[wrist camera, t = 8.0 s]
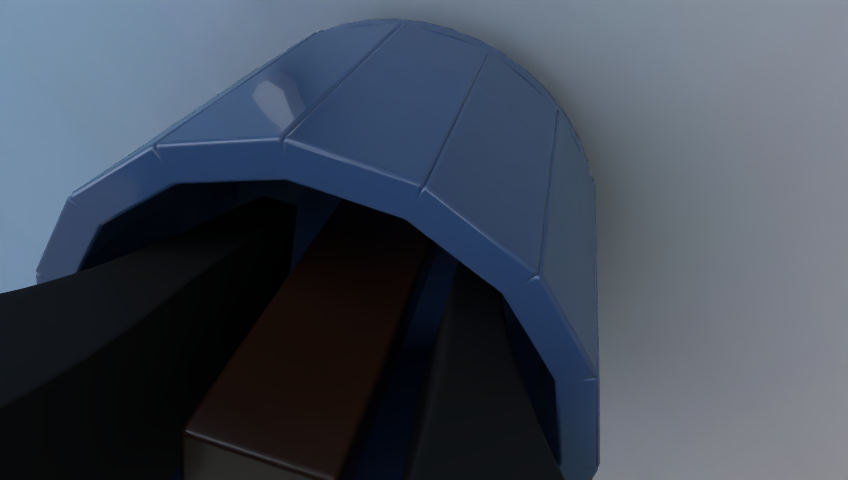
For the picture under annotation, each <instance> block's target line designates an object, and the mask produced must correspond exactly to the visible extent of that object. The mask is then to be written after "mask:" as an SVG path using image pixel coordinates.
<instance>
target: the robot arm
mask: <svg viewBox="0 0 848 480" xmlns="http://www.w3.org/2000/svg"><path fill="white" fill-rule="evenodd" d="M296 215H297V205H294V204H290V203H287V202H284V201H280V200H277V199H274V198H270V197H267V196H262V197H259V198H257V199H255V200H252V201H250V202H248V203H246V204H243V205H241V206H239V207H237V208H235V209H232V210H230V211H228V212H226V213H224V214H222V215H220V216H217V217H215V218H213V219H211V220H209V221H206V222H204V223H202V224H200V225H197V226H195V227H193V228H191V229H189V230H186V231H184V232H182V233H180V234H177V235H175V236H173V237H171V238H168V239H166V240H163V241H161V242H158V243H156V244H153V245H151V246H148V247H145V248H143V249H140V250H138V251H135V252H133V253H130V254H128V255H125V256H122V257H120V258H117V259H115V260H112V261H110V262H107V263H104V264H101V265H98V266H95V267H93V268H90V269H86V270H83V271H80V272H77V273H74V274H71V275H68V276H64V277H61V278H58V279H54V280H51V281H47V282H44V283H41V284H37V285H34V286H30V287H26V288H23V289H19V290H14V291H10V292H6V293H1V294H0V480H170V479H171V477H172V475H173V474H174V472H175V470H176V468H177V467H178V465H179V464H180V462H181V430H182V428H183V427H184V425H185V424H186V422H187V421H188V419H189V418H190V417H191V415H192V414H193V412H194V411H195V409H196V408H197V406H198V405H199V404H200V402H201V401H202V399H203V398H204V396H205V395H206V394H207V392H208V391H209V389H210V388H211V386H212V385H213V383H214V382H215V381H216V379H217V378H218V376H219V375H220V373H221V372H222V371H223V369H224V368H225V366H226V365H227V363H228V362H229V360H230V359H231V358H232V356H233V355H234V353H235V352H236V350H237V349H238V348H239V346H240V345H241V343H242V342H243V340H244V339H245V337H246V336H247V335H248V333H249V332H250V330H251V329H252V327H253V326H254V325H255V323H256V322H257V320H258V319H259V317H260V316H261V314H262V313H263V312H264V310H265V309H266V307H267V306H268V304H269V303H270V302H271V300H272V299H273V297H274V296H275V294H276V293H277V292H278V290H279V289H280V287H281V286H282V284H283V283H284V281H285V280H286V279H287V277H288V276H289V274H290V269H291V260H292V251H293V242H294V233H295V224H296ZM402 480H565V478H564V476H563V474H562V472H561V470H560V468H559V466H558V464H557V462H556V460H555V458H554V456H553V454H552V452H551V450H550V447H549V445H548V443H547V441H546V438H545V436H544V434H543V432H542V429H541V427H540V425H539V422H538V420H537V417H536V415H535V412H534V410H533V407H532V404H531V402H530V399H529V396H528V393H527V390H526V388H525V385H524V382H523V379H522V376H521V373H520V370H519V367H518V363H517V360H516V356H515V353H514V349H513V345H512V342H511V338H510V334H509V330H508V326H507V322H506V317H505V312H504V307H503V301H502V295H501V293H500V292H499V291H498V290H496V289H495V288H494V287H492V286H491V285H490V284H489V283H487V282H486V281H485V280H483V279H482V278H481V277H479V276H478V275H477V274H475V273H474V272H473V271H472V270H470V269H469V268H468V267H466V266H465V265H464V264H462V263H461V262H460V261H458V264H457V267H456V270H455V273H454V277H453V280H452V283H451V287H450V290H449V293H448V297H447V300H446V303H445V307H444V310H443V314H442V317H441V320H440V324H439V327H438V330H437V334H436V337H435V340H434V344H433V347H432V351H431V354H430V357H429V361H428V364H427V367H426V371H425V374H424V377H423V381H422V384H421V387H420V391H419V395H418V400H417V405H416V410H415V415H414V420H413V425H412V430H411V435H410V440H409V445H408V450H407V455H406V461H405V466H404V471H403V476H402Z"/></svg>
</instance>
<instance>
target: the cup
mask: <svg viewBox="0 0 848 480" xmlns="http://www.w3.org/2000/svg"><path fill="white" fill-rule="evenodd" d="M262 196H267V197H270V198H274V199H277V200H280V201H284V202H287V203H290V204H294V205H297V215H296V224H295V233H294V242H293V251H292V260H291V269H290V273H291V271H292V270H293V269H294V267H295V266H296V264H297V263H298V261H299V260H300V258H301V257H302V256H303V254H304V253H305V251H306V250H307V248H308V247H309V246H310V244H311V243H312V241H313V240H314V238H315V237H316V235H317V234H318V233H319V231H320V230H321V228H322V227H323V225H324V224H325V223H326V221H327V220H328V218H329V217H330V215H331V214H332V212H333V211H334V210H335V208H336V207H337V205H338V204H339V202H340V201H341V200H342V199H345V200H348V201H351V202H354V203H357V204H360V205H363V206H366V207H369V208H372V209H375V210H378V211H381V212H384V213H387V214H390V215H393V216H396V217H398V218H401V219H404V220H406V221H408V222H409V223H410V224H411V225H413V226H414V227H415V228H417V229H418V230H419V231H421V232H422V233H423V234H425V235H426V236H427V237H428V238H430V239H431V240H432V241H434V242H435V243H436V244H437V247H436V251H435V255H434V258H433V262H432V266H431V270H430V272H429V275H428V278H427V280H426V283H425V286H424V289H423V291H422V294H421V297H420V299H419V302H418V305H417V307H416V310H415V313H414V316H413V318H412V321H411V324H410V326H409V329H408V332H407V334H406V337H405V340H404V343H403V345H402V348H401V351H400V353H399V356H398V359H397V362H396V364H395V367H394V370H393V372H392V375H391V378H390V380H389V383H388V386H387V389H386V391H385V394H384V397H383V399H382V402H381V405H380V407H379V410H378V413H377V416H376V418H375V421H374V424H373V426H372V429H371V432H370V435H369V437H368V440H367V443H366V445H365V448H364V451H363V453H362V456H361V459H360V462H359V464H358V467H357V470H356V472H355V475H354V478H353V480H402V476H403V471H404V466H405V461H406V455H407V450H408V445H409V440H410V435H411V430H412V425H413V420H414V415H415V410H416V405H417V400H418V395H419V391H420V387H421V384H422V381H423V377H424V374H425V371H426V367H427V364H428V361H429V357H430V354H431V351H432V347H433V344H434V340H435V337H436V334H437V330H438V327H439V324H440V320H441V317H442V314H443V310H444V307H445V303H446V300H447V297H448V293H449V290H450V287H451V283H452V280H453V277H454V273H455V270H456V267H457V264H458V261H460V262H461V263H462V264H464V265H465V266H466V267H468V268H469V269H470V270H472V271H473V272H474V273H475V274H477V275H478V276H479V277H481V278H482V279H483V280H485V281H486V282H487V283H489V284H490V285H491V286H492V287H494V288H495V289H496V290H498V291H499V292H500V293H501V295H502V301H503V307H504V312H505V317H506V322H507V326H508V330H509V334H510V338H511V342H512V345H513V349H514V353H515V356H516V360H517V363H518V367H519V370H520V373H521V376H522V379H523V382H524V385H525V388H526V390H527V393H528V396H529V399H530V402H531V404H532V407H533V410H534V412H535V415H536V417H537V420H538V422H539V425H540V427H541V429H542V432H543V434H544V436H545V438H546V441H547V443H548V445H549V447H550V450H551V452H552V454H553V456H554V458H555V460H556V462H557V464H558V466H559V468H560V470H561V472H562V474H563V476H564V478H565V480H591V479H592V478H593V476H594V475H595V473H596V472H597V470H598V466H599V464H600V383H599V336H598V292H597V247H596V203H595V185H594V180H593V178H592V175H591V173H590V169H589V164H588V160H587V158H586V155H585V153H584V150H583V148H582V145H581V143H580V140H579V138H578V135H577V134H576V132H575V130H574V128H573V127H572V125H571V123H570V121H569V120H568V118H567V116H566V115H565V113H564V111H563V110H562V109H561V108H560V106H559V105H558V104H557V103H556V101H555V100H554V99H553V97H552V96H551V95H550V94H549V92H548V91H547V90H546V89H545V88H544V87H543V86H542V85H541V84H540V83H539V82H538V81H537V80H536V79H535V78H534V77H533V76H532V75H531V74H530V73H529V72H528V71H526V70H525V69H524V68H522V67H521V66H520V65H518V64H517V63H516V62H514V61H513V60H512V59H510V58H509V57H508V56H506V55H505V54H503V53H502V52H500V51H498V50H496V49H494V48H493V47H491V46H489V45H487V44H485V43H484V42H482V41H480V40H478V39H476V38H473V37H471V36H468V35H466V34H463V33H460V32H458V31H455V30H453V29H450V28H446V27H442V26H438V25H434V24H429V23H425V22H419V21H410V20H400V19H379V20H364V21H359V22H353V23H347V24H342V25H339V26H336V27H333V28H330V29H327V30H322V31H319V32H318V33H313V34H312V35H310V36H308V37H307V38H305V39H304V40H302V41H300V42H298V43H296V44H295V45H293V46H292V47H290V48H289V49H287V50H286V51H284V52H283V53H281V54H279V55H278V56H276V57H275V58H273V59H271V60H270V61H268V62H267V63H265V64H263V65H262V66H260V67H259V68H257V69H255V70H254V71H253V72H251V73H250V74H248V75H247V76H245V77H244V78H242V79H241V80H239V81H238V82H236V83H235V84H233V85H232V86H230V87H229V88H227V89H226V90H224V91H223V92H221V93H220V94H218V95H217V96H215V97H214V98H212V99H211V100H209V101H208V102H206V103H205V104H203V105H202V106H200V107H199V108H197V109H196V110H194V111H193V112H191V113H190V114H188V115H187V116H185V117H184V118H183V119H181V120H180V121H178V122H177V123H175V124H174V125H172V126H171V127H169V128H168V129H166V130H165V131H163V132H162V133H160V134H159V135H157V136H156V137H154V138H153V139H151V140H150V141H148V142H147V143H145V144H144V145H142V146H141V147H139V148H138V149H136V150H135V151H133V152H132V153H130V154H129V155H127V156H126V157H124V158H123V159H121V160H120V161H118V162H117V163H115V164H114V165H113V166H111V167H110V168H108V169H107V170H105V171H104V172H102V173H101V174H99V175H98V176H96V177H95V178H93V179H92V180H90V181H89V182H87V183H86V184H84V185H83V186H81V187H80V188H78V189H77V190H75V191H74V192H73V193H72V195H71V196H69V197H68V199H67V201H66V203H65V205H64V208H63V210H62V212H61V215H60V217H59V219H58V221H57V224H56V226H55V228H54V231H53V233H52V235H51V237H50V240H49V242H48V244H47V247H46V249H45V251H44V253H43V256H42V258H41V260H40V263H39V265H38V267H37V270H36V272H37V274H36V280H37V284H41V283H44V282H47V281H51V280H54V279H58V278H61V277H64V276H68V275H71V274H74V273H77V272H80V271H83V270H86V269H90V268H93V267H95V266H98V265H101V264H104V263H107V262H110V261H112V260H115V259H117V258H120V257H122V256H125V255H128V254H130V253H133V252H135V251H138V250H140V249H143V248H145V247H148V246H151V245H153V244H156V243H158V242H161V241H163V240H166V239H168V238H171V237H173V236H175V235H177V234H180V233H182V232H184V231H186V230H189V229H191V228H193V227H195V226H197V225H200V224H202V223H204V222H206V221H209V220H211V219H213V218H215V217H217V216H220V215H222V214H224V213H226V212H228V211H230V210H232V209H235V208H237V207H239V206H241V205H243V204H246V203H248V202H250V201H252V200H255V199H257V198H259V197H262ZM170 480H181V462H180V464H179V465H178V467H177V468H176V470H175V472H174V474H173V475H172V477H171V479H170Z"/></svg>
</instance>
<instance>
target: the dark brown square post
mask: <svg viewBox="0 0 848 480" xmlns="http://www.w3.org/2000/svg"><path fill="white" fill-rule="evenodd" d="M436 247H437V244H436V243H435V242H434V241H432V240H431V239H430V238H428V237H427V236H426V235H425V234H423V233H422V232H421V231H419V230H418V229H417V228H415V227H414V226H413V225H411V224H410V223H409V222H408V221H406V220H404V219H401V218H398V217H396V216H393V215H390V214H387V213H384V212H381V211H378V210H375V209H372V208H369V207H366V206H363V205H360V204H357V203H354V202H351V201H348V200H345V199H342V200H341V201H340V202H339V204H338V205H337V207H336V208H335V210H334V211H333V212H332V214H331V215H330V217H329V218H328V220H327V221H326V223H325V224H324V225H323V227H322V228H321V230H320V231H319V233H318V234H317V235H316V237H315V238H314V240H313V241H312V243H311V244H310V246H309V247H308V248H307V250H306V251H305V253H304V254H303V256H302V257H301V258H300V260H299V261H298V263H297V264H296V266H295V267H294V269H293V270H292V271H291V273H290V274H289V276H288V277H287V279H286V280H285V281H284V283H283V284H282V286H281V287H280V289H279V290H278V292H277V293H276V294H275V296H274V297H273V299H272V300H271V302H270V303H269V304H268V306H267V307H266V309H265V310H264V312H263V313H262V314H261V316H260V317H259V319H258V320H257V322H256V323H255V325H254V326H253V327H252V329H251V330H250V332H249V333H248V335H247V336H246V337H245V339H244V340H243V342H242V343H241V345H240V346H239V348H238V349H237V350H236V352H235V353H234V355H233V356H232V358H231V359H230V360H229V362H228V363H227V365H226V366H225V368H224V369H223V371H222V372H221V373H220V375H219V376H218V378H217V379H216V381H215V382H214V383H213V385H212V386H211V388H210V389H209V391H208V392H207V394H206V395H205V396H204V398H203V399H202V401H201V402H200V404H199V405H198V406H197V408H196V409H195V411H194V412H193V414H192V415H191V417H190V418H189V419H188V421H187V422H186V424H185V425H184V427H183V428H182V430H181V480H353V478H354V475H355V472H356V470H357V467H358V464H359V462H360V459H361V456H362V453H363V451H364V448H365V445H366V443H367V440H368V437H369V435H370V432H371V429H372V426H373V424H374V421H375V418H376V416H377V413H378V410H379V407H380V405H381V402H382V399H383V397H384V394H385V391H386V389H387V386H388V383H389V380H390V378H391V375H392V372H393V370H394V367H395V364H396V362H397V359H398V356H399V353H400V351H401V348H402V345H403V343H404V340H405V337H406V334H407V332H408V329H409V326H410V324H411V321H412V318H413V316H414V313H415V310H416V307H417V305H418V302H419V299H420V297H421V294H422V291H423V289H424V286H425V283H426V280H427V278H428V275H429V272H430V270H431V266H432V262H433V258H434V255H435V251H436Z"/></svg>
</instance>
